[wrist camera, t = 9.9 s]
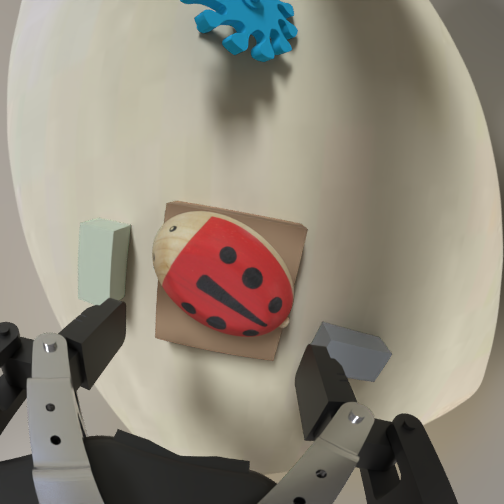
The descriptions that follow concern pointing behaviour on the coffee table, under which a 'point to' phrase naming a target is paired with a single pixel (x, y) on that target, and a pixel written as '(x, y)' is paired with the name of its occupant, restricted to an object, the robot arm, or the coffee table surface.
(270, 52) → the gear
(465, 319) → the coffee table surface
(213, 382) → the coffee table surface
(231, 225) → the ladybug figurine
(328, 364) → the robot arm
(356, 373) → the slate brick
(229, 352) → the walnut block
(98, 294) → the sage brick
